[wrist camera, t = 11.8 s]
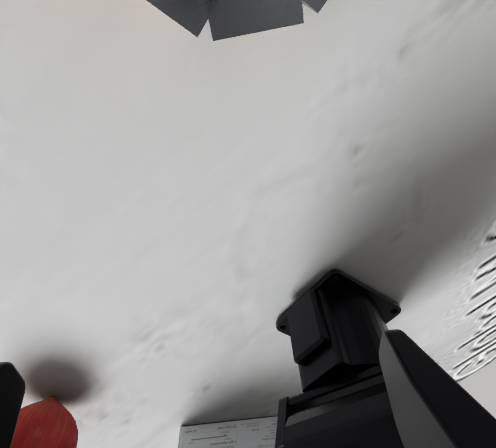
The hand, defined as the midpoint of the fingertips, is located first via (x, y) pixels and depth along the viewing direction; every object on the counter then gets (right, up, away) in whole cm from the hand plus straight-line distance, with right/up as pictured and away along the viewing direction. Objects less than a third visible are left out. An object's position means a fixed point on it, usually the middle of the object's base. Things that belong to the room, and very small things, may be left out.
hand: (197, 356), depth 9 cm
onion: (-15, -11, +23) cm, 30 cm away
